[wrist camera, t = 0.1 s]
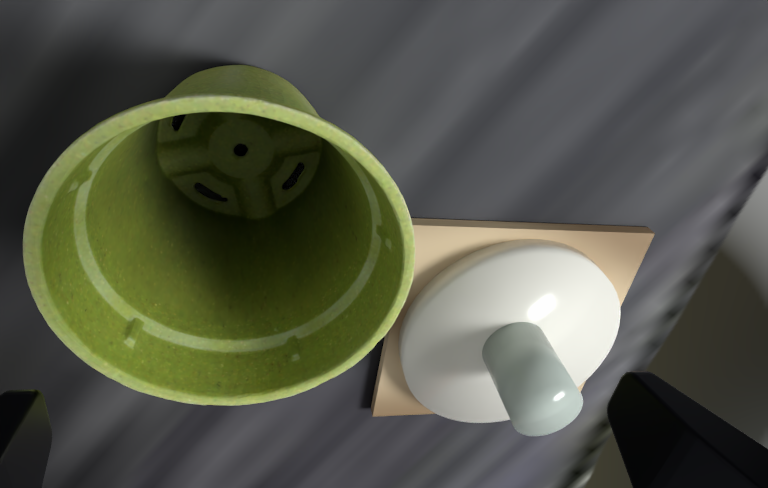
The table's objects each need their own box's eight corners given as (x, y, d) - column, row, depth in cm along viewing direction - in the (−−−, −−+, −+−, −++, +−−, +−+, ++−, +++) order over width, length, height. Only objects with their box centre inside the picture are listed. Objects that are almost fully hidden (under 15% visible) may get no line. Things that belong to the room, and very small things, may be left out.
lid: (567, 401, 33) (614, 481, 29) (383, 409, 30) (403, 498, 26) (641, 241, 27) (712, 312, 23) (420, 234, 24) (453, 312, 20)
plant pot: (177, -52, 18) (121, 2, 10) (413, 104, 22) (486, 219, 15) (65, 181, 21) (-34, 342, 14) (288, 277, 25) (298, 439, 18)
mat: (568, 399, 34) (573, 407, 33) (370, 407, 31) (372, 416, 30) (647, 227, 27) (655, 233, 27) (407, 217, 25) (411, 225, 24)
